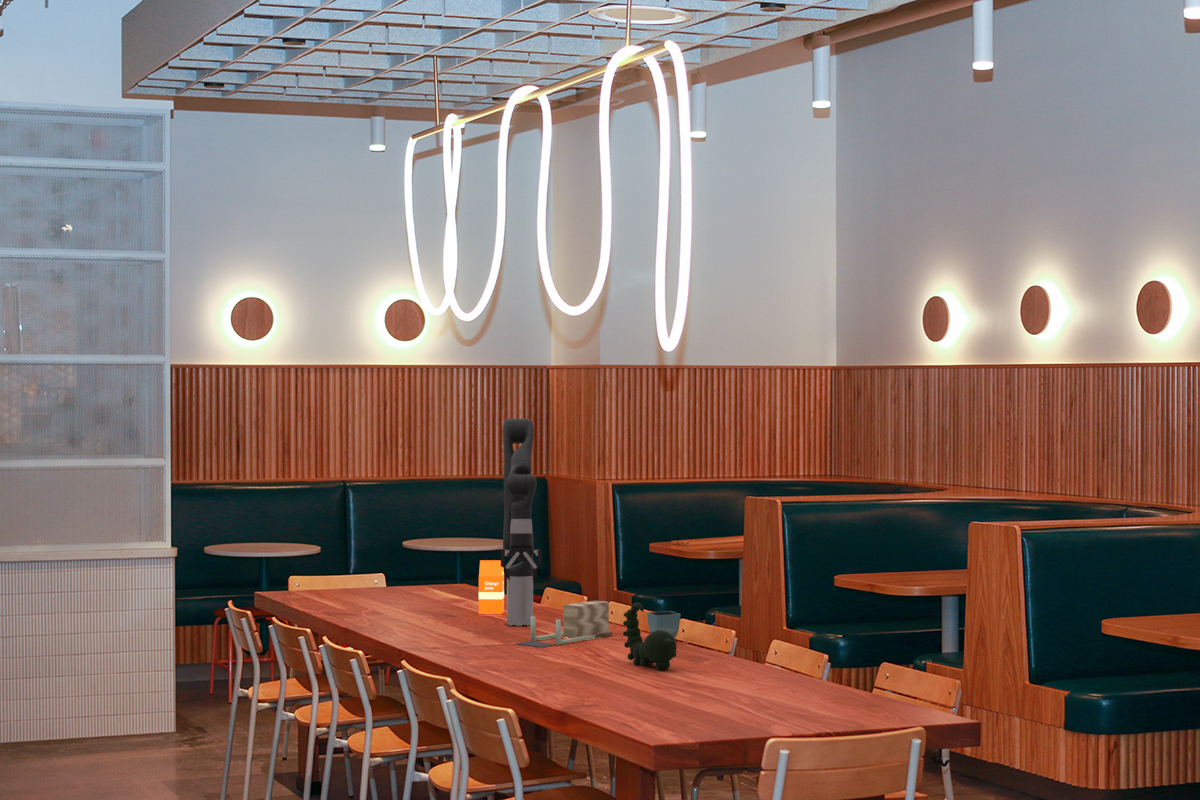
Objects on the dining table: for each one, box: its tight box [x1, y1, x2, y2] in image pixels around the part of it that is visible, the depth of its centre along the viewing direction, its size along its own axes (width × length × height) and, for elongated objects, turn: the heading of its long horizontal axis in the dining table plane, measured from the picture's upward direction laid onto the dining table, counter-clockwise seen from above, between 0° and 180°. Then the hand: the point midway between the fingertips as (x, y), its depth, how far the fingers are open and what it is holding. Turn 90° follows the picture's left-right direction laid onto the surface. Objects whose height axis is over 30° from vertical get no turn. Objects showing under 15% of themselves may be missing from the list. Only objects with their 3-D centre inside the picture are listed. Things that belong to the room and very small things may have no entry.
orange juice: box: [478, 559, 505, 615], centre depth 511 cm, size 8×9×20 cm
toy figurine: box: [622, 602, 678, 671], centre depth 397 cm, size 9×19×25 cm
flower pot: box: [646, 610, 681, 640], centre depth 446 cm, size 9×9×9 cm
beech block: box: [563, 600, 610, 638], centre depth 455 cm, size 16×6×11 cm, turn 140°
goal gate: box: [530, 615, 595, 646], centre depth 446 cm, size 18×13×8 cm
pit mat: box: [515, 640, 557, 648], centre depth 436 cm, size 7×11×1 cm, turn 50°
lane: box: [594, 631, 613, 639], centre depth 456 cm, size 9×13×1 cm
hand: (521, 579), depth 469 cm, fingers open, 8 cm apart
